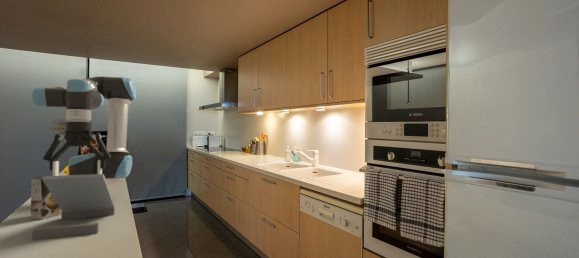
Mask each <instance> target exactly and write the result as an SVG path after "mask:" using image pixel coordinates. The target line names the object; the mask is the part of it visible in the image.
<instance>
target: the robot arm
mask: <svg viewBox="0 0 579 258" xmlns="http://www.w3.org/2000/svg"><path fill="white" fill-rule="evenodd" d="M136 88H137V87H136V85H135V82H134V80H133V79H132V78H128V77H117V76H115V77H114V76H93V77H87V78H82V79H77V78H74V79H68V80H67V81H66V84H65V85H60V86H54V87H45V86H44V87H36V88H34V89H33V90H32V93H31V99H32V103H33V104H34V105H35V106H37V107H40V108H41V107H42V108H66V109H65V111H66V112H65V113H66V114H65V120H66V123H65V134H60V133H59V134H58V133H57V134H55V135H54V139H53V141H52V143H51V144H50V146H49V147H48V149H47V151H46V152H45V154H44V156H43V157H42V160H44V161H48V162H49V170H50V171H52V176H60V161H59V158H60V157H62V155H63V154H64V153H65V152H66V151H68V149H70V148H71V147H86V148H88V149H89V150H90V151H91V152H92V153H88V154H80V155H74V156H72V157H70V158H69V160H68V165H67V168H68V175H89V174H104V176H105V179H106V180H112V179H113V180H114V179H115V180H119V179H125V178H126V179H127V177H128V176H129V175H130V173H131V171H132V168H133V156H132V155H130V152H129V151H128V150H127V137H128V120H129V106H131V105H132V103H133V100H134V101H135V100H136V99H137V89H136ZM105 99H106V102H107V103H108V104H109V109H108V110H109V112H108V124H107V125H108V126H107V138H106V139H107V140H106V145H105V143H104V141H103V140H102V139H103V138H102V135H101V134H98V133H97V134H92V122H91V121H92V109H93V110H96V109H97V110H98V109H99V108H102V107H103V106H104V103H105ZM63 140H66V142H65V143H64V144H63V146H62V147H61V148H59V149H58V150H57V148H58V147H59V145H60V143H61V142H62V141H63ZM91 140H95V141H96V143H97V145H98V147H99V148H100V150H101V151H100V150H98V148H97V147H96V146H95V145H94V144H93V143H92V142H91ZM56 150H57V151H56ZM55 151H56V152H55Z"/></svg>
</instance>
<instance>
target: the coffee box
mask: <svg viewBox="0 0 579 258" xmlns="http://www.w3.org/2000/svg"><path fill="white" fill-rule="evenodd" d="M42 178H43V176H42V177H35V178H31V183H30V184H31V186H30V190H31V191H30V219H33V220H45V219H48V218H52V217H55V216H59V215H62V210H61V209H60V207H59V205H58V204H57V202H56V201H55V199H54V197H53V196H52V194H51V193H50V191H49V189H48V188H47V186H46V185H45V183H44V181H43V180H42Z"/></svg>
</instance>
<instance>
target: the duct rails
mask: <svg viewBox="0 0 579 258" xmlns="http://www.w3.org/2000/svg"><path fill="white" fill-rule="evenodd" d="M115 213H116V207H115V206H114V207H108V208H95V209H82V210H69V211H62V214H61V220H70V219H80V218H82V219H83V218H90V217H100V216H101V217H103V216H104V217H105V216H114V215H115ZM99 225H100V223H99V222H96V223H85V224H83V223H82V224H76V225H66V226H65V225H63V226H54V227H43V228H34V229H32V230H31V240H32V241H34V240H35V241H36V240H43V239H44V240H45V239H52V238H54V239H55V238H63V237H64V238H65V237H73V236H74V237H75V236H82V235H92V234H98V233H99V231H100V229H99V227H100V226H99Z"/></svg>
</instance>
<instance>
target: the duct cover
mask: <svg viewBox="0 0 579 258" xmlns="http://www.w3.org/2000/svg"><path fill="white" fill-rule="evenodd" d="M42 177H43V178H42V180H43V181H44V183H45V185H46V186H47V188H48V189H49V191H50V193H51V194H52V196H53V197H54V199H55V201H56V202H57V204H58V205H59V207H60V209H61V210H62V211H69V210H82V209H95V208H108V207H115V201H114V198H113V196H112V193H111V190H110V187H109V185H108V182H107V179H105V176H104V174H89V175H69V174H68V175H59V176H53V175H47V176H46V175H45V176H42Z"/></svg>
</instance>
